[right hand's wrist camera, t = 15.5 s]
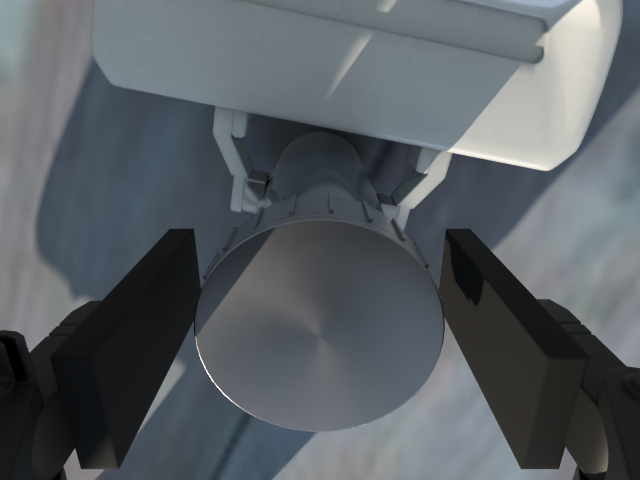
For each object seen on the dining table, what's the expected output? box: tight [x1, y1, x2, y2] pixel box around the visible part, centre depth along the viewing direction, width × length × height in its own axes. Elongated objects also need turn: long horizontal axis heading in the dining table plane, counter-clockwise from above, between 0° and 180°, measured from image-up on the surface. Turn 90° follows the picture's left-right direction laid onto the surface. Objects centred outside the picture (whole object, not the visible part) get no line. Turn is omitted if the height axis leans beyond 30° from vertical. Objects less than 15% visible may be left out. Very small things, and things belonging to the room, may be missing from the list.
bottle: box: [254, 131, 385, 214], centre depth 19 cm, size 5×5×17 cm
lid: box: [194, 193, 445, 432], centre depth 11 cm, size 6×6×2 cm
